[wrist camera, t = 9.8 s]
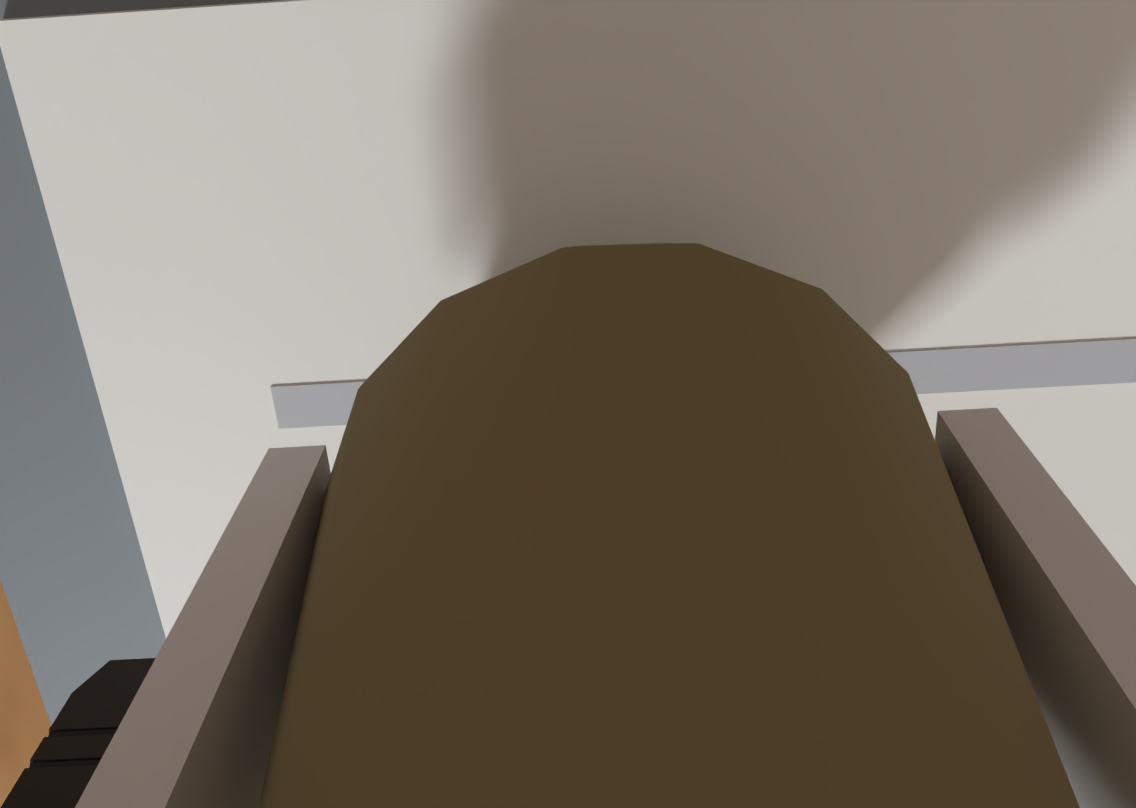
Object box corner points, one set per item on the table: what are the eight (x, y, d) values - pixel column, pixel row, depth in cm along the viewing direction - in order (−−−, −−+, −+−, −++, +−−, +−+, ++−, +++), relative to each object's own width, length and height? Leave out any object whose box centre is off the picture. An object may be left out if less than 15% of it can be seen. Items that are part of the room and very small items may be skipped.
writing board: (79, 733, 23) (56, 772, 22) (-197, -79, 16) (-248, -77, 15) (1512, 668, 22) (1557, 707, 21) (1869, -226, 15) (1961, -233, 14)
